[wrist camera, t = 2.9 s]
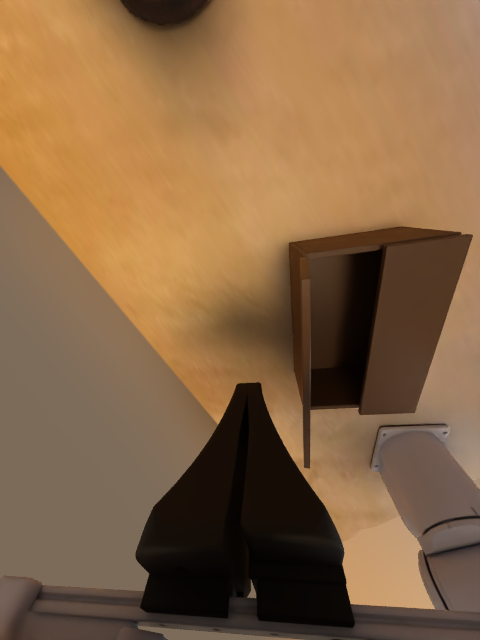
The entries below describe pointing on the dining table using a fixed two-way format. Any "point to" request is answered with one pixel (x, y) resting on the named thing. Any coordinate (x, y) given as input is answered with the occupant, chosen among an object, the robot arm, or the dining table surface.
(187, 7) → the mortar and pestle
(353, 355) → the carton
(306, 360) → the flap
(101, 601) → the robot arm
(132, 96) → the dining table surface
